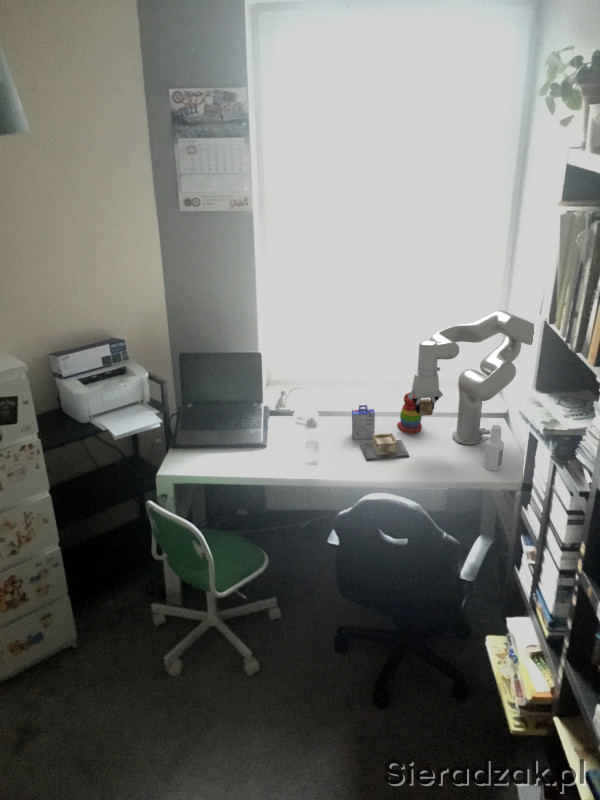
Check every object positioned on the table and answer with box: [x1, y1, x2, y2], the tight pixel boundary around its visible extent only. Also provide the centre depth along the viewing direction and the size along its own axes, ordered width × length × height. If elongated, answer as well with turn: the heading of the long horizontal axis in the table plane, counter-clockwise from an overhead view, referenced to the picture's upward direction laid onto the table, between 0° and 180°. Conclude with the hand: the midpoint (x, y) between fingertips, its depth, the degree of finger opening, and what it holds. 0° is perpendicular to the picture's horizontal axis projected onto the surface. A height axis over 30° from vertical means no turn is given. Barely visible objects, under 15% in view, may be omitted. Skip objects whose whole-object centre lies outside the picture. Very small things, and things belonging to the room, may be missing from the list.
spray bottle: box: [483, 424, 505, 472], centre depth 253 cm, size 7×7×18 cm
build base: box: [359, 432, 410, 462], centre depth 269 cm, size 18×13×6 cm
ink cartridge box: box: [351, 404, 376, 440], centre depth 280 cm, size 10×6×14 cm, turn 89°
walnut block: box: [419, 398, 433, 416], centre depth 263 cm, size 5×5×5 cm
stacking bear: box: [396, 392, 423, 434], centre depth 284 cm, size 11×10×18 cm
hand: (424, 411), depth 264 cm, fingers closed on walnut block, 5 cm apart
